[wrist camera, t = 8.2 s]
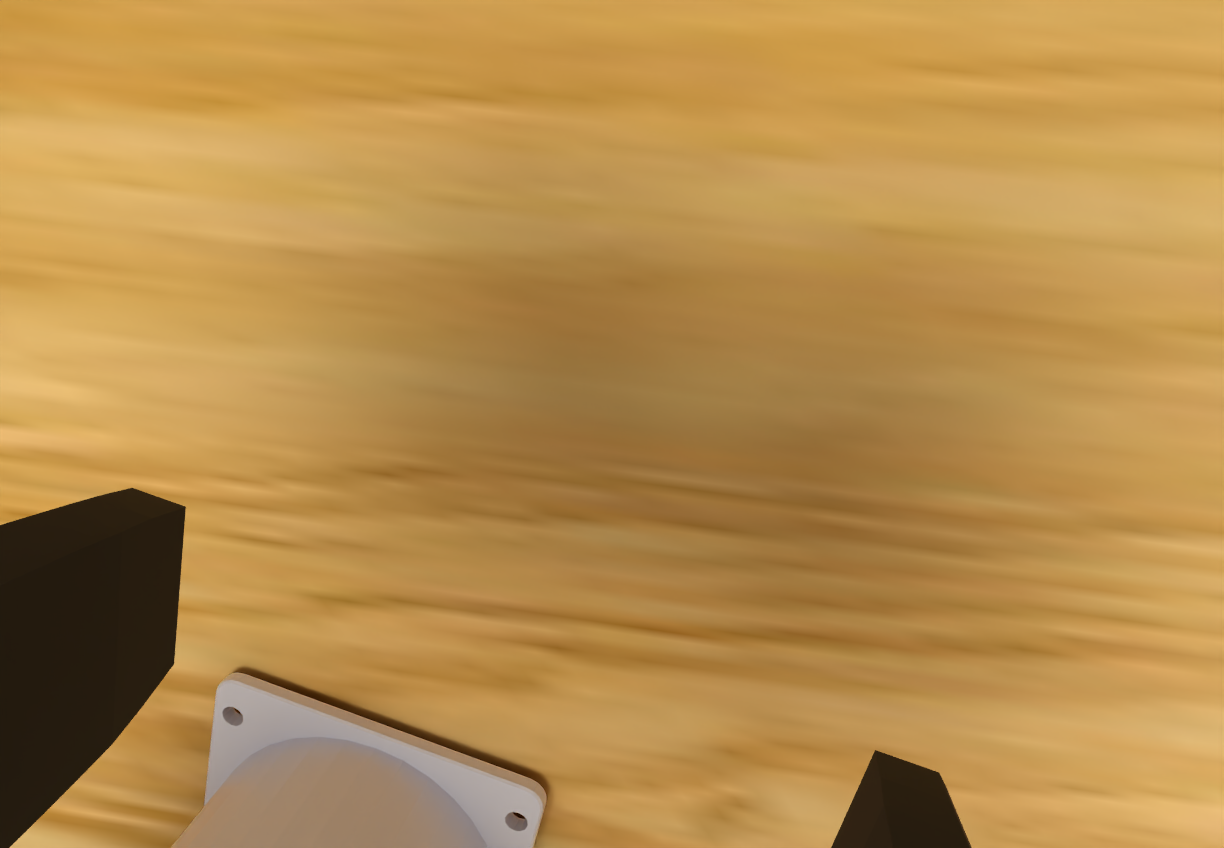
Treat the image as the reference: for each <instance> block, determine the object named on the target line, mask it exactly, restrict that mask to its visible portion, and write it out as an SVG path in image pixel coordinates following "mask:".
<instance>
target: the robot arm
mask: <svg viewBox="0 0 1224 848" xmlns="http://www.w3.org/2000/svg"><path fill="white" fill-rule="evenodd" d="M185 508H186V507H185V506H182V505H179V504H176V503H173V502H171V501H168V500H165V499H162V498H159V497H156V496H154V495H151V494H148V493H145V492H142V491H139V490H137V489H134V488H130V489H126V490H121V491H117V492H113V493H109V494H105V495H101V496H97V497H94V498H90V499H87V500H83V501H80V502H76V503H73V504H69V505H66V506H62V507H59V508H56V509H52V510H49V511H46V512H42V513H39V514H36V515H32V516H29V517H26V518H23V519H19V520H16V521H13V522H9V523H6V524H3V525H0V848H9V847H10V846H11V845H12V844H13V843H14V842H15V841H16V840H17V839H18V838H19V837H20V836H22V835H23V834H24V833H25V832H26V831H27V830H28V829H29V828H30V827H31V826H32V825H33V824H34V823H35V822H36V821H37V820H38V819H39V818H40V817H41V816H42V815H43V814H44V813H45V812H46V811H47V810H48V809H49V808H50V807H51V806H52V805H53V804H54V803H55V802H56V801H57V800H58V799H59V798H60V797H61V796H62V795H63V794H64V793H65V792H66V791H67V790H68V789H69V788H70V787H71V786H72V785H73V784H74V783H75V782H76V781H77V780H78V779H79V778H80V777H81V776H82V774H83V773H84V772H85V771H86V770H87V769H88V768H89V767H90V766H91V765H92V764H93V763H94V762H95V761H96V760H97V759H98V758H99V757H100V756H101V755H102V754H103V753H104V752H105V751H106V750H107V749H108V748H109V747H110V746H111V745H112V744H113V743H114V741H115V740H116V739H117V738H118V736H119V735H120V734H121V733H122V731H123V730H124V729H125V727H126V726H127V725H128V724H129V722H130V721H131V720H132V719H133V717H134V716H135V715H136V714H137V712H138V711H139V710H140V709H141V707H142V706H143V705H144V703H145V702H146V701H147V699H148V698H149V697H150V695H151V694H152V693H153V691H154V690H155V689H156V687H157V686H158V685H159V683H160V682H161V681H162V679H163V678H164V677H165V675H166V674H167V673H168V671H169V670H170V669H171V667H172V666H173V665H174V656H175V643H176V629H177V616H178V602H179V589H180V575H181V562H182V548H183V535H184V521H185ZM233 707H234V708H236V709H237V710H239V711H240V713H241V714H242V715H241V714H239V713H237V712H236V711H235V710H234V708H233ZM546 800H547V795H546V793H545V791H544V788H543V787H542V786H541V785H540V784H539V783H538V782H536V781H534V780H532V779H531V778H528V777H525V776H523V775H520V774H517V773H514V772H512V771H509V770H506V769H503V768H501V767H498V766H495V765H493V764H490V763H487V762H484V761H482V760H479V759H476V758H473V757H471V756H468V755H465V754H463V753H460V752H457V751H454V750H452V749H449V748H446V747H443V746H441V745H438V744H435V743H432V742H430V741H427V740H424V739H422V738H419V737H416V736H413V735H411V734H408V733H405V732H402V731H400V730H397V729H394V728H392V727H389V726H386V725H383V724H381V723H378V722H375V721H372V720H370V719H367V718H364V717H361V716H359V715H356V714H353V713H351V712H348V711H345V710H342V709H340V708H337V707H334V706H331V705H329V704H326V703H323V702H321V701H318V700H315V699H312V698H310V697H307V696H304V695H301V694H299V693H296V692H293V691H291V690H288V689H285V688H282V687H280V686H277V685H274V684H271V683H269V682H266V681H263V680H260V679H258V678H255V677H252V676H250V675H247V674H243V673H238V672H236V673H231V674H229V675H228V676H227V677H226V678H225V679H224V680H223V681H222V682H221V683H220V684H219V685H218V687H217V690H216V697H215V707H214V716H213V725H212V735H211V744H210V753H209V763H208V772H207V781H206V791H205V800H204V807H203V809H202V810H201V811H200V812H199V814H198V815H197V816H196V817H195V818H194V820H193V821H192V822H191V823H190V824H189V826H188V827H187V828H186V829H185V831H184V832H183V833H182V834H181V835H180V837H179V838H178V839H177V840H176V842H175V843H174V844H173V845H172V846H171V848H534V844H535V841H536V837H537V834H538V830H539V827H540V823H541V820H542V816H543V813H544V809H545V806H546ZM513 812H516V813H520V814H521V815H523V816H524V817H525V818H526V819H522V818H518V817H517V816H515V815H514V814H513ZM831 848H971V845H970V843H969V841H968V838H967V836H966V833H965V831H964V829H963V826H962V824H961V821H960V819H959V817H958V814H957V812H956V809H955V807H954V805H953V802H952V800H951V797H950V795H949V793H948V790H947V788H946V786H945V784H944V782H943V780H942V778H941V776H940V774H939V773H938V772H936V771H933V770H930V769H927V768H924V767H921V766H919V765H916V764H913V763H910V762H907V761H904V760H902V759H899V758H896V757H893V756H890V755H887V754H885V753H882V752H879V751H876V750H875V752H874V754H873V756H872V759H871V761H870V763H869V765H868V768H867V770H866V772H865V774H864V776H863V779H862V781H861V783H860V785H859V787H858V790H857V792H856V794H855V796H854V799H853V801H852V803H851V805H850V807H849V810H848V812H847V814H846V816H845V818H844V821H843V823H842V825H841V827H840V830H839V832H838V834H837V836H836V838H835V841H834V843H833V845H832V847H831Z"/></svg>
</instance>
